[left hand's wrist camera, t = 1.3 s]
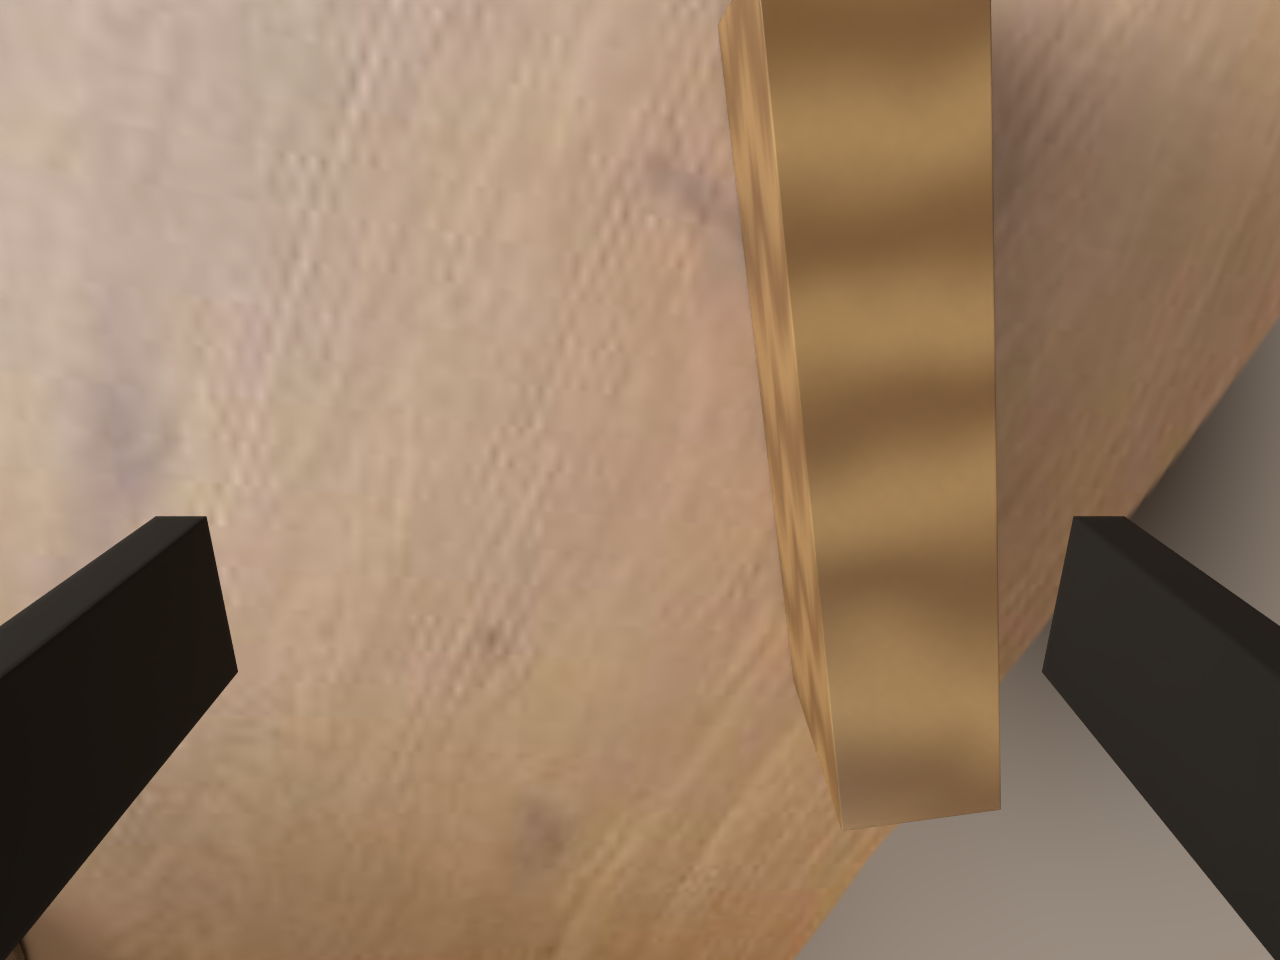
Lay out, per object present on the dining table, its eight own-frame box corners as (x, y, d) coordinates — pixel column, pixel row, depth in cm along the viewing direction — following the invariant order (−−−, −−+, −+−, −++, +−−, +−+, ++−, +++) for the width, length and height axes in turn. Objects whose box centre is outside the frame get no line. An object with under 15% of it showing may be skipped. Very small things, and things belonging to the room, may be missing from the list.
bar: (916, 665, 34) (1001, 810, 26) (793, 683, 34) (842, 831, 27) (880, -6, 26) (990, -87, 18) (717, 24, 26) (755, -43, 18)
